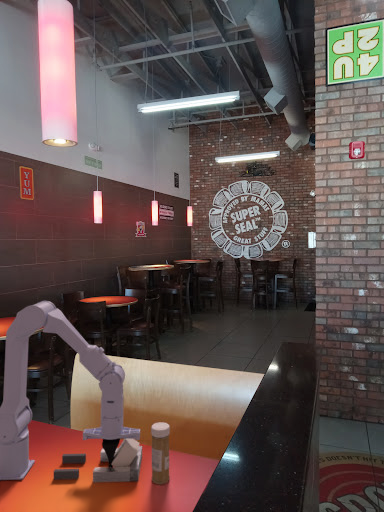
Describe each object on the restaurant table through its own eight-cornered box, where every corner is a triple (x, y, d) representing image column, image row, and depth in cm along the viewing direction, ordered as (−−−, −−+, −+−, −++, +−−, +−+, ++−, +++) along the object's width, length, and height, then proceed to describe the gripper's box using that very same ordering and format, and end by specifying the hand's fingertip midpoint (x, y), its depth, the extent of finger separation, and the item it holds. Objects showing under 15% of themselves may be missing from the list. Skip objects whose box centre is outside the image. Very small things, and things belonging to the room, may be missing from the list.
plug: (111, 464, 94) (124, 444, 94) (114, 453, 99) (126, 434, 99) (124, 472, 94) (137, 452, 94) (127, 461, 99) (139, 442, 99)
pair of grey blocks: (53, 479, 92) (53, 471, 92) (63, 461, 100) (63, 454, 100) (78, 479, 92) (78, 471, 92) (85, 460, 100) (85, 453, 100)
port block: (92, 482, 91) (92, 470, 91) (101, 457, 102) (102, 446, 102) (137, 481, 91) (138, 469, 91) (142, 456, 102) (142, 445, 102)
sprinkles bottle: (173, 481, 91) (173, 426, 91) (156, 487, 89) (156, 431, 88) (164, 472, 95) (164, 419, 95) (148, 477, 92) (148, 424, 92)
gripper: (141, 407, 100) (140, 457, 100) (87, 407, 100) (86, 457, 100) (138, 419, 93) (138, 472, 93) (80, 419, 93) (80, 473, 93)
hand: (111, 466), depth 96 cm, fingers closed, pressing on plug
